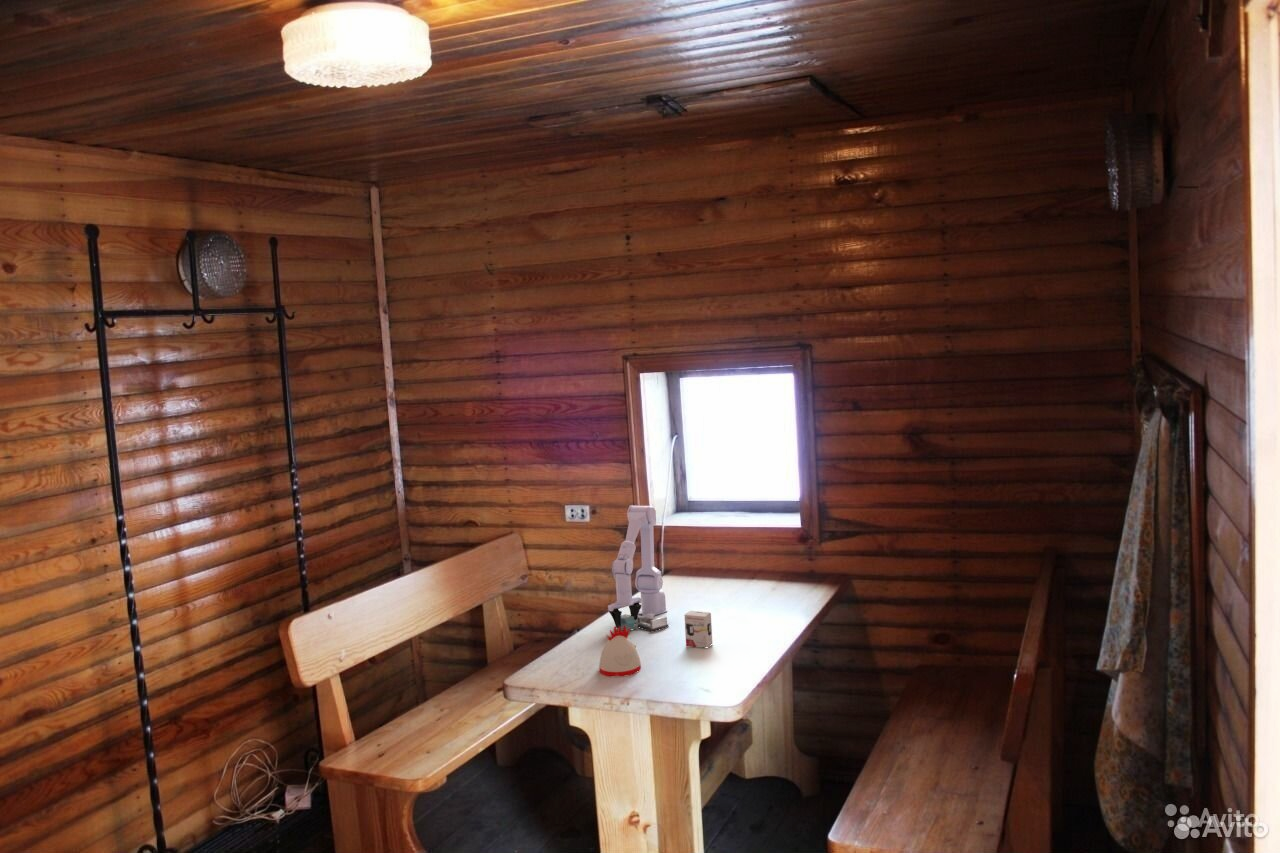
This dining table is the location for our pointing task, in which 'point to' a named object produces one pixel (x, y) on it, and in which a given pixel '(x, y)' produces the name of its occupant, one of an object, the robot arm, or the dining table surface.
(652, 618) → the plate
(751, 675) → the dining table surface
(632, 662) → the chicken hat
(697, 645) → the ink box
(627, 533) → the robot arm
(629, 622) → the block
